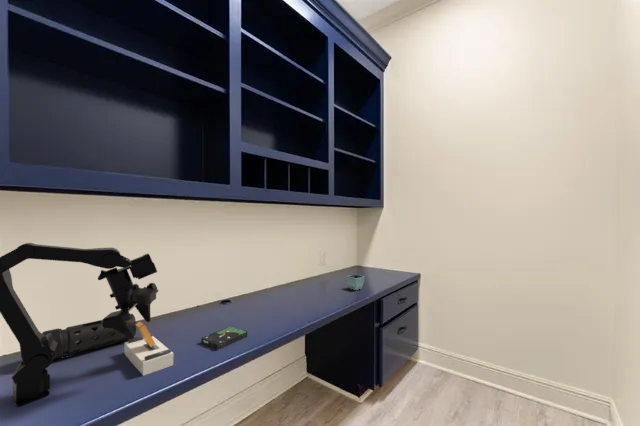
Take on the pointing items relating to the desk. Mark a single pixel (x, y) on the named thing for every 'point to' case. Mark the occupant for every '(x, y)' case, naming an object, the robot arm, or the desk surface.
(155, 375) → the desk surface
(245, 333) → the disk drive
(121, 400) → the desk surface
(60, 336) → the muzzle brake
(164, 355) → the block
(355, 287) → the flower pot
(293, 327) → the desk surface
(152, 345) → the lever
